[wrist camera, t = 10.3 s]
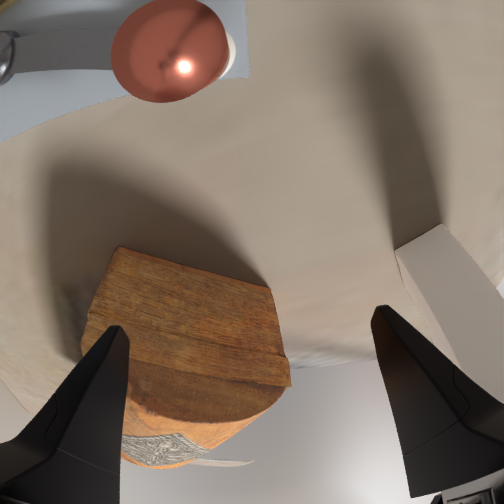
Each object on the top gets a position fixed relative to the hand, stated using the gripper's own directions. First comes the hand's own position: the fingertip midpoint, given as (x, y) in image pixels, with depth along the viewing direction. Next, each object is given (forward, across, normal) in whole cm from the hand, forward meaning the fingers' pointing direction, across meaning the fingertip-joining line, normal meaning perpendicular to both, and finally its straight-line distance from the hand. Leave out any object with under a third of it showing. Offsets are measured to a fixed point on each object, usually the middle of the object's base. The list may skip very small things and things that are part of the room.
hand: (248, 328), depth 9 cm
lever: (+11, +10, -12) cm, 19 cm away
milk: (+13, -18, +9) cm, 24 cm away
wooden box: (+14, +11, +21) cm, 28 cm away
